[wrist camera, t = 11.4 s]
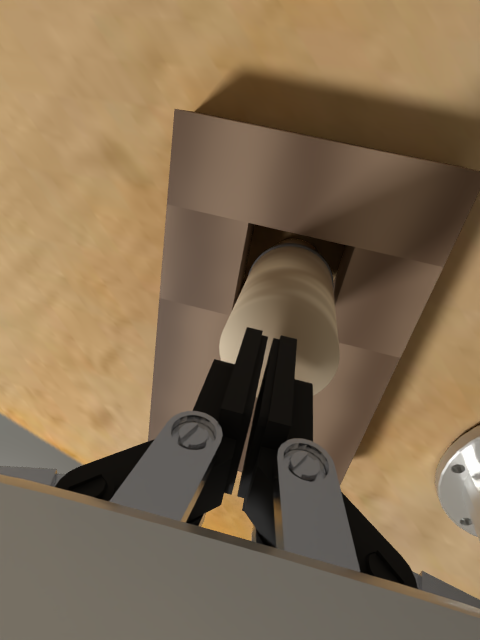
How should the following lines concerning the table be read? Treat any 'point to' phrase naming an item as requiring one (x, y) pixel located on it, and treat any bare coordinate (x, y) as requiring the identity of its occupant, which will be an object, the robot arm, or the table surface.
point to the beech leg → (289, 310)
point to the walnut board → (309, 220)
